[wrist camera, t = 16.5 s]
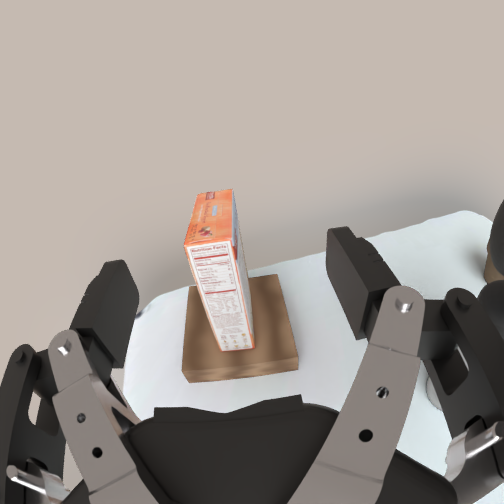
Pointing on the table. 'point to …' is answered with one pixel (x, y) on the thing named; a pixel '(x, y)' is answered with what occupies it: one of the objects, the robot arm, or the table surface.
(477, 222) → the table surface
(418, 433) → the table surface
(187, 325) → the walnut base
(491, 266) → the flower pot
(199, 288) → the cracker box
